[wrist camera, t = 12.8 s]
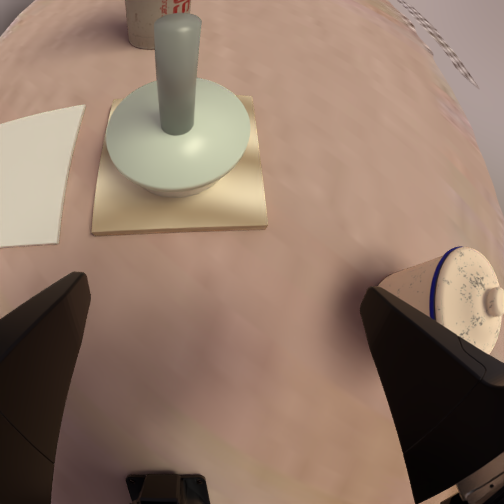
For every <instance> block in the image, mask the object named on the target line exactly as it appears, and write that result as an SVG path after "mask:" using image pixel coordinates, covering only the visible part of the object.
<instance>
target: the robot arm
mask: <svg viewBox="0 0 504 504" xmlns="http://www.w3.org/2000/svg"><path fill="white" fill-rule="evenodd" d="M90 301H91V294H90V290H89V285H88V280H87V276H86V274H85V273H84V272H72V273H70V274H68V275H67V276H65V277H64V278H62V279H60V280H59V281H57V282H55V283H54V284H52V285H51V286H49V287H48V288H46V289H44V290H43V291H41V292H40V293H38V294H37V295H35V296H34V297H32V298H31V299H29V300H28V301H26V302H25V303H23V304H22V305H20V306H19V307H17V308H16V309H14V310H13V311H11V312H10V313H9V314H7V315H6V316H4V317H3V318H1V319H0V504H51V491H52V481H53V472H54V463H55V455H56V449H57V443H58V437H59V431H60V426H61V421H62V416H63V411H64V407H65V402H66V398H67V394H68V390H69V386H70V382H71V378H72V374H73V371H74V367H75V364H76V360H77V357H78V353H79V350H80V346H81V343H82V338H83V333H84V328H85V324H86V319H87V314H88V310H89V306H90ZM360 314H361V317H362V321H363V325H364V328H365V332H366V336H367V340H368V344H369V348H370V351H371V354H372V357H373V360H374V362H375V365H376V368H377V371H378V374H379V377H380V380H381V383H382V386H383V389H384V392H385V395H386V398H387V401H388V404H389V407H390V411H391V414H392V417H393V420H394V424H395V427H396V431H397V434H398V437H399V441H400V445H401V448H402V452H403V453H404V454H403V456H404V460H405V464H406V468H407V472H408V476H409V480H410V484H411V489H412V493H413V497H414V501H415V504H419V503H421V502H423V501H425V500H427V499H429V498H431V497H433V496H435V495H437V494H439V493H441V492H443V491H445V490H446V489H448V488H450V487H452V486H453V485H455V484H456V487H457V489H458V492H457V493H455V494H454V495H452V496H450V497H449V498H447V499H445V500H444V501H442V502H441V503H440V504H504V363H502V362H501V361H499V360H497V359H496V358H494V357H492V356H490V355H489V354H487V353H485V352H484V351H482V350H480V349H479V348H477V347H475V346H474V345H472V344H471V343H469V342H468V341H466V340H464V339H463V338H461V337H460V336H457V334H455V333H454V332H452V331H451V330H449V329H447V328H446V327H444V326H443V325H441V324H440V323H438V322H437V321H435V320H433V319H432V318H430V317H429V316H427V315H425V314H424V313H422V312H421V311H419V310H418V309H416V308H414V307H413V306H411V305H409V304H408V303H406V302H405V301H403V300H401V299H400V298H398V297H397V296H395V295H393V294H392V293H390V292H388V291H387V290H385V289H383V288H382V287H369V288H368V289H367V291H366V294H365V296H364V299H363V301H362V303H361V306H360ZM130 479H133V480H134V481H135V482H132V481H131V480H130ZM199 479H200V480H202V481H201V482H198V481H197V480H199ZM126 483H127V486H128V490H129V493H130V496H131V499H132V503H130V504H210V500H209V495H208V490H207V485H206V479H205V477H204V476H202V475H185V476H179V475H177V474H148V475H128V476H127V478H126Z"/></svg>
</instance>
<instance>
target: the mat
mask: <svg viewBox="0 0 504 504" xmlns="http://www.w3.org/2000/svg"><path fill="white" fill-rule="evenodd" d="M85 108H86V106H85V104H84V105H78V106H73V107H67V108H62V109H57V110H53V111H48V112H44V113H39V114H35V115H31V116H27V117H23V118H20V119H16V120H13V121H9V122H6V123H3V124H0V248H6V247H21V246H36V245H52V244H59V236H60V226H61V218H62V211H63V204H64V197H65V191H66V185H67V180H68V175H69V170H70V165H71V160H72V156H73V151H74V147H75V143H76V139H77V135H78V132H79V128H80V124H81V121H82V117H83V114H84V111H85Z"/></svg>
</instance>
